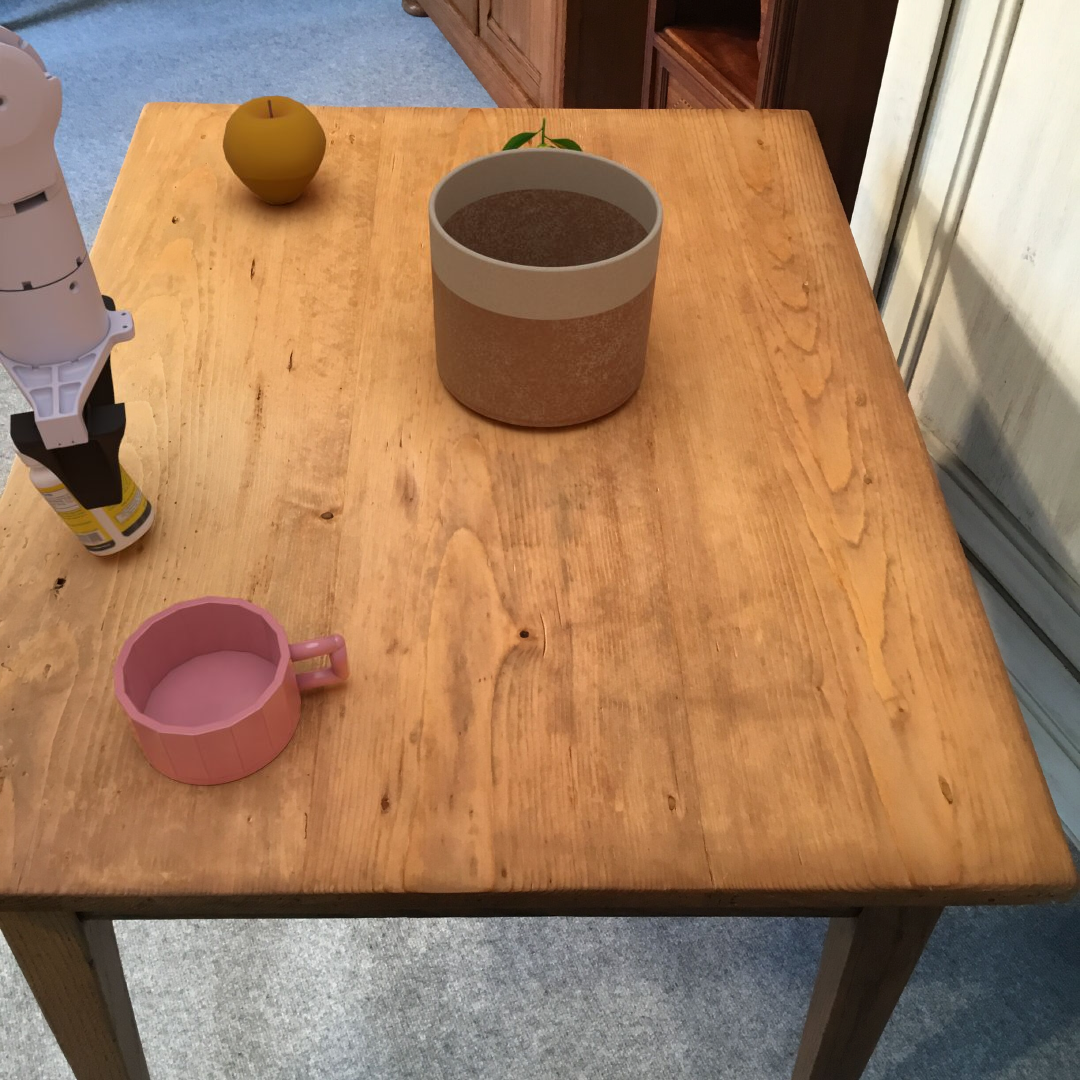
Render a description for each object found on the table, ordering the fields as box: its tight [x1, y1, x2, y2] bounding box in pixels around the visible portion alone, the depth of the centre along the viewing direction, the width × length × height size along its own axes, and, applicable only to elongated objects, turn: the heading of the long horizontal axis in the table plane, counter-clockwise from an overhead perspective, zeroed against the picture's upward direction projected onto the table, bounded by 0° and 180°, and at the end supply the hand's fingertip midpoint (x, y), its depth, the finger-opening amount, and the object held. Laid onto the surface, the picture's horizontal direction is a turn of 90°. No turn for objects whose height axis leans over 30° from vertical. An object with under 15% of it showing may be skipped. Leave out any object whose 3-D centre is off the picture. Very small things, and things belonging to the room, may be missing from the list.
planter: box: [427, 147, 664, 428], centre depth 78 cm, size 16×16×14 cm
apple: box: [222, 95, 327, 206], centre depth 96 cm, size 9×9×9 cm
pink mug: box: [112, 595, 351, 786], centre depth 60 cm, size 12×9×5 cm
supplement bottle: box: [11, 442, 156, 557], centre depth 67 cm, size 5×5×8 cm
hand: (100, 458), depth 64 cm, fingers open, 7 cm apart
